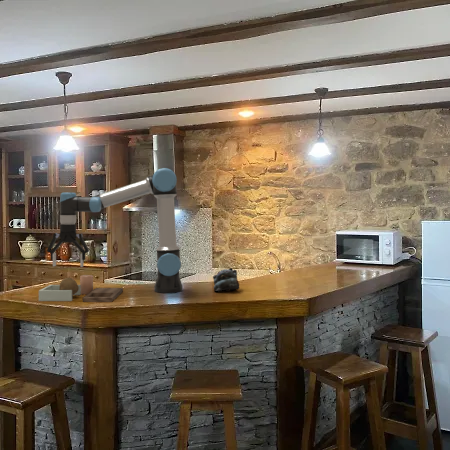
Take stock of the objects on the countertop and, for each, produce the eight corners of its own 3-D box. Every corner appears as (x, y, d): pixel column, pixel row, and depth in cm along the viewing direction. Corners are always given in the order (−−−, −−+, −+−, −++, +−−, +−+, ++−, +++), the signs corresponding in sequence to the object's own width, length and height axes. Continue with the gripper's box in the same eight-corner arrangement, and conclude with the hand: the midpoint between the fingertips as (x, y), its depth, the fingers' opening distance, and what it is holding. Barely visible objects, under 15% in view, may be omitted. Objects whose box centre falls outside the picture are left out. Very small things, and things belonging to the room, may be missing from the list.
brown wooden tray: (122, 291, 254) (122, 287, 254) (112, 301, 228) (112, 297, 228) (96, 291, 254) (96, 287, 254) (82, 301, 228) (82, 297, 228)
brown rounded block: (94, 291, 253) (94, 275, 253) (91, 294, 247) (91, 276, 246) (82, 291, 253) (82, 275, 253) (78, 294, 247) (78, 276, 246)
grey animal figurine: (209, 292, 252) (207, 267, 258) (219, 297, 262) (216, 273, 268) (235, 286, 247) (232, 261, 253) (244, 291, 257) (240, 267, 263)
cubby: (80, 294, 246) (80, 284, 246) (71, 301, 230) (71, 290, 230) (50, 294, 246) (50, 284, 245) (38, 301, 230) (38, 290, 229)
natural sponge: (81, 296, 242) (81, 276, 241) (74, 299, 233) (74, 279, 232) (64, 295, 243) (64, 276, 242) (56, 299, 234) (56, 279, 233)
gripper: (95, 223, 240) (95, 265, 241) (45, 222, 239) (45, 265, 240) (91, 224, 232) (91, 267, 233) (39, 223, 232) (40, 267, 233)
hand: (68, 266), depth 237 cm, fingers open, 13 cm apart
